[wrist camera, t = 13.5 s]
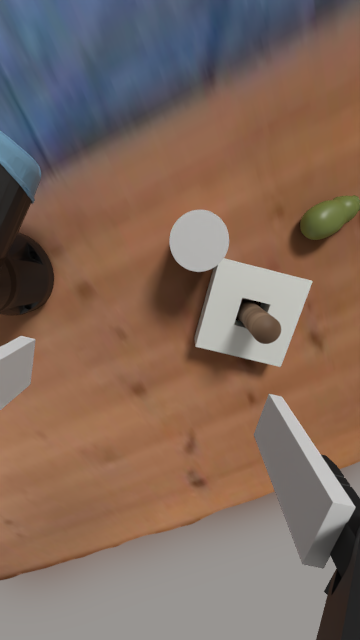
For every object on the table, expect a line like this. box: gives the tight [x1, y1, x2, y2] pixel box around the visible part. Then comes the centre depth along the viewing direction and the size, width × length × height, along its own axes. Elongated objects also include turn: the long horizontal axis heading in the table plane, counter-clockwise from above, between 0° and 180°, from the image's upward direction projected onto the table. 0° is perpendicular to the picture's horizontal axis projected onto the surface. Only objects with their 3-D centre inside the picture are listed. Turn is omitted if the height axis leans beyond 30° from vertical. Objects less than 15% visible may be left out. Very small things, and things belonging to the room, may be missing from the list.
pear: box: [300, 195, 360, 240], centre depth 44 cm, size 6×5×10 cm
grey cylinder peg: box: [170, 210, 229, 272], centre depth 42 cm, size 8×8×12 cm
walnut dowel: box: [237, 299, 281, 344], centre depth 44 cm, size 4×4×14 cm
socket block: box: [195, 258, 312, 367], centre depth 48 cm, size 16×16×5 cm
